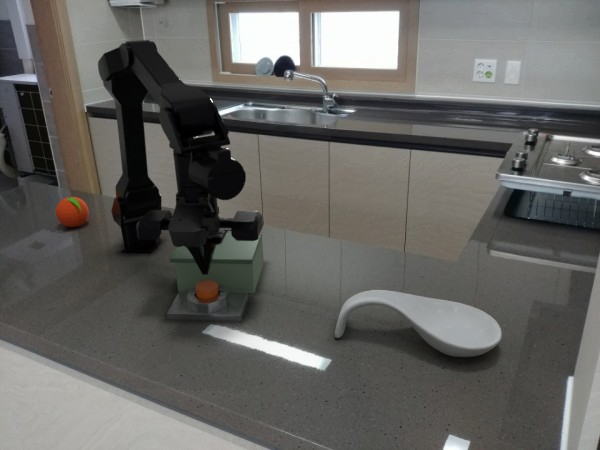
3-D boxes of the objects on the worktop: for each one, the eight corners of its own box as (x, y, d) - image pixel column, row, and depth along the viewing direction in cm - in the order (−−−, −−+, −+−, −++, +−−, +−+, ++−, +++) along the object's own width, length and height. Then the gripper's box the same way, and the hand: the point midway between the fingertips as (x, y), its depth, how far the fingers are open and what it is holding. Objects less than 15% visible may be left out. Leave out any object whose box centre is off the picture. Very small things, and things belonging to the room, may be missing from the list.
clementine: (99, 226, 123) (94, 196, 120) (70, 235, 118) (64, 205, 115) (81, 217, 128) (76, 189, 125) (53, 227, 123) (46, 198, 120)
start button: (193, 300, 87) (192, 290, 86) (199, 289, 90) (198, 280, 89) (215, 300, 86) (214, 291, 86) (220, 289, 90) (219, 280, 89)
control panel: (167, 319, 87) (165, 303, 85) (179, 297, 93) (177, 281, 92) (240, 321, 86) (239, 305, 84) (248, 298, 92) (247, 283, 91)
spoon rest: (494, 326, 83) (499, 286, 80) (504, 375, 72) (511, 330, 69) (341, 312, 87) (342, 273, 85) (330, 356, 77) (330, 313, 74)
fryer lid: (169, 262, 92) (169, 258, 92) (188, 235, 103) (187, 231, 103) (252, 263, 91) (252, 259, 91) (262, 235, 102) (262, 231, 101)
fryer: (178, 292, 95) (174, 262, 92) (195, 262, 105) (192, 235, 103) (254, 293, 93) (252, 264, 91) (263, 263, 104) (262, 236, 102)
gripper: (114, 200, 74) (131, 298, 80) (248, 201, 72) (255, 301, 78) (142, 175, 84) (155, 263, 90) (260, 175, 82) (265, 265, 89)
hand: (205, 273), depth 87 cm, fingers closed
